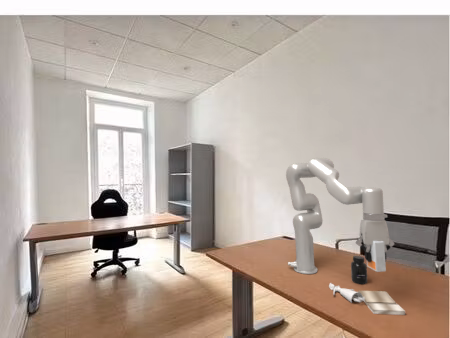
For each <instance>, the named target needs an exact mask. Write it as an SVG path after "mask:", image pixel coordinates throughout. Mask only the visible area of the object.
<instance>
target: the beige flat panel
mask: <svg viewBox="0 0 450 338" xmlns="http://www.w3.org/2000/svg"><path fill="white" fill-rule="evenodd" d="M357 292H359V293H361V294H362V296H363V297H365V301H363V302H364V303H365V305H366V306H368V303H386V304H397V302H396V301H395V300H394V299H393V298H392V297H391V296H390V295H389V293H388V292H387V291H386V290H385V291H384V290H383V291H381V290H379V291H378V290H358V291H357Z"/></svg>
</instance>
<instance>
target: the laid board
mask: <svg viewBox="0 0 450 338" xmlns="http://www.w3.org/2000/svg"><path fill="white" fill-rule="evenodd" d="M367 308H368V309H369V310H370V311H371V312H372V314H374V315H394V316H395V315H396V316H397V315H398V316H406V310H405V309H404V308H402V306H400V304H398V303H396V304H386V303H368V305H367Z"/></svg>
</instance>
